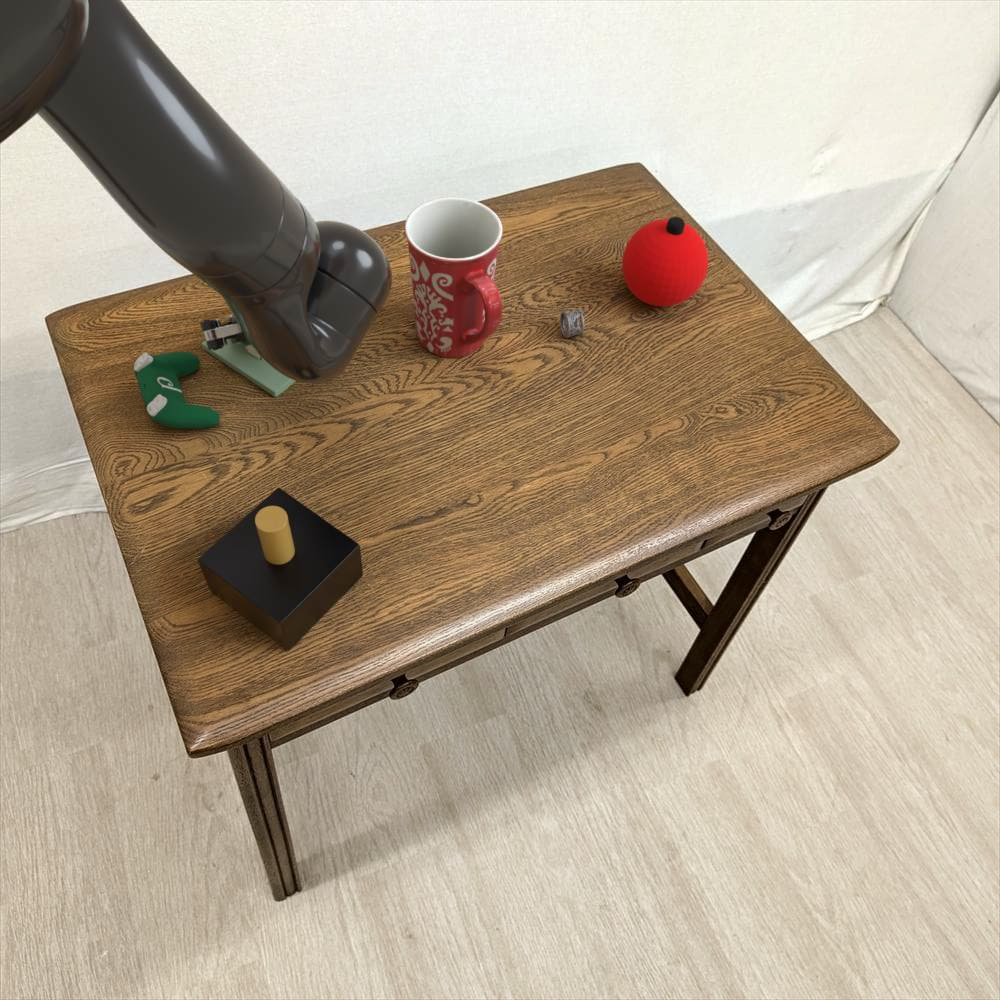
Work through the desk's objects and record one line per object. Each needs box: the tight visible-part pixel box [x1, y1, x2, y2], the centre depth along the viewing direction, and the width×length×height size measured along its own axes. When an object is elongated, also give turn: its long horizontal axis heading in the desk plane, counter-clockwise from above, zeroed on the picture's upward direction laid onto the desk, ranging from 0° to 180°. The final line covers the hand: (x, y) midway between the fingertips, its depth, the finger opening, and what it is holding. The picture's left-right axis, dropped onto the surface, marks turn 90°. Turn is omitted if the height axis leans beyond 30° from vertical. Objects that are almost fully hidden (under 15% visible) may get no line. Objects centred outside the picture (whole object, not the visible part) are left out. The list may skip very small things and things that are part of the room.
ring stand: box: [196, 486, 364, 652], centre depth 71 cm, size 9×9×10 cm
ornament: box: [621, 216, 709, 308], centre depth 95 cm, size 9×9×10 cm
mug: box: [404, 196, 504, 359], centre depth 87 cm, size 13×9×14 cm
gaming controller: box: [133, 351, 221, 430], centre depth 84 cm, size 9×4×6 cm
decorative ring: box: [559, 308, 585, 339], centre depth 93 cm, size 3×2×3 cm
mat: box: [201, 338, 296, 398], centre depth 90 cm, size 10×10×1 cm
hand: (268, 321), depth 90 cm, fingers closed on ring, 6 cm apart
